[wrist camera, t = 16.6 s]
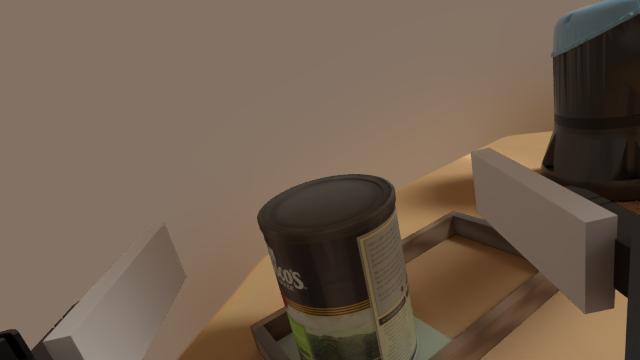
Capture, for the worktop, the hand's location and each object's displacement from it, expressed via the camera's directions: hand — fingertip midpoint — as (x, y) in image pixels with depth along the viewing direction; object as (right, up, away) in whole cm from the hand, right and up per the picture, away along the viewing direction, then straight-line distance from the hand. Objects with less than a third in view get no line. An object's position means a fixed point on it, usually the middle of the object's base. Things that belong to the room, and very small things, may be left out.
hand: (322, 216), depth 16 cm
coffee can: (+3, -13, +16) cm, 21 cm away
